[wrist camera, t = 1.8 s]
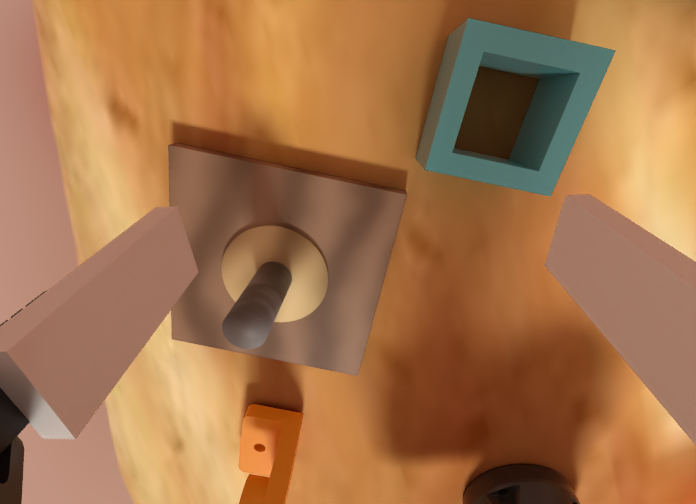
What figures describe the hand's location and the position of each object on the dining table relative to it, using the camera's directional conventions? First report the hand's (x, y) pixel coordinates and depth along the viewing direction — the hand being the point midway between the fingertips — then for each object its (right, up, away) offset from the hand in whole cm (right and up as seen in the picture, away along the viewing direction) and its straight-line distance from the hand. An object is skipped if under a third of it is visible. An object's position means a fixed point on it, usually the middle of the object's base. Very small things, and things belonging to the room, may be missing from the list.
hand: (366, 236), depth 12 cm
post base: (-8, -2, +25) cm, 26 cm away
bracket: (-11, -25, +35) cm, 44 cm away
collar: (+11, +11, +17) cm, 24 cm away
